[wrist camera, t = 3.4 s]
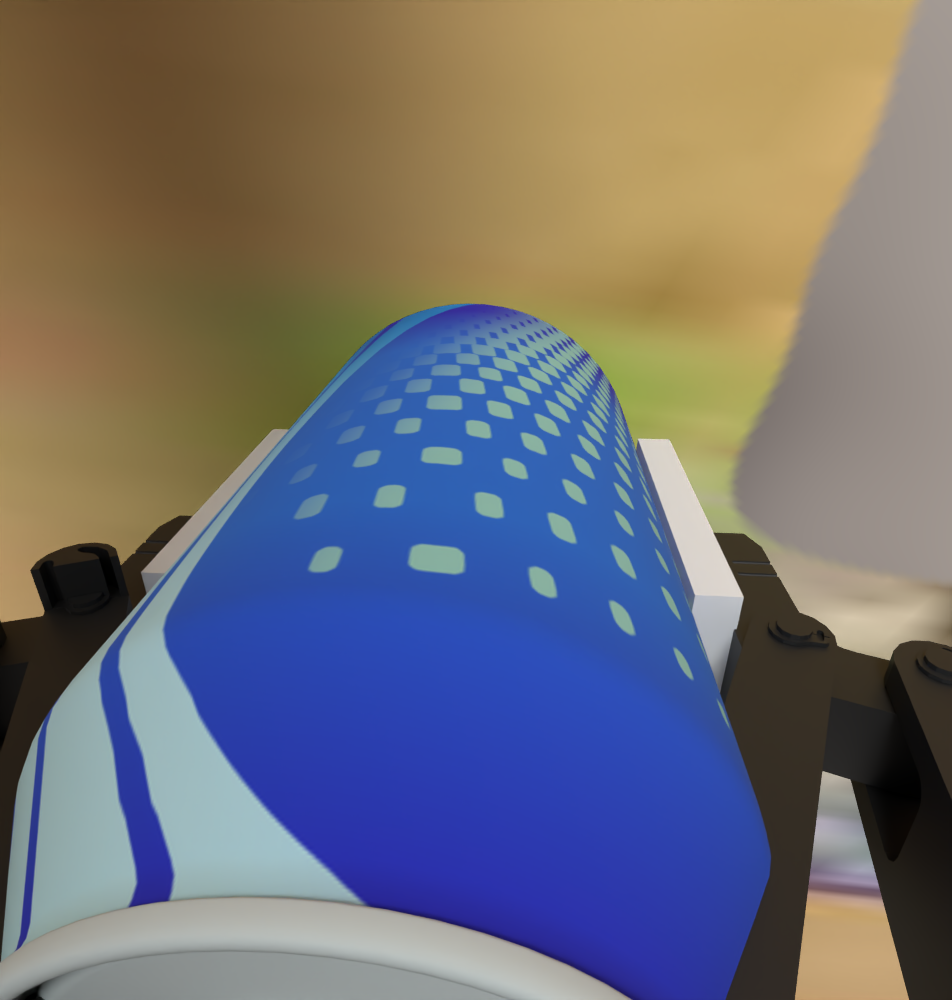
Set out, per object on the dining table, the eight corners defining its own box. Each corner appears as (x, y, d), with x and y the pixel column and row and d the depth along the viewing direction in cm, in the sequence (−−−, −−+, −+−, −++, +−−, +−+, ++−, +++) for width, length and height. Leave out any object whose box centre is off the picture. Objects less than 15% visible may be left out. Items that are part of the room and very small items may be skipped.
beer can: (684, 423, 19) (1122, 1208, 5) (497, 606, 22) (439, 1385, 8) (447, 223, 17) (53, 579, 3) (281, 457, 21) (-274, 1144, 6)
